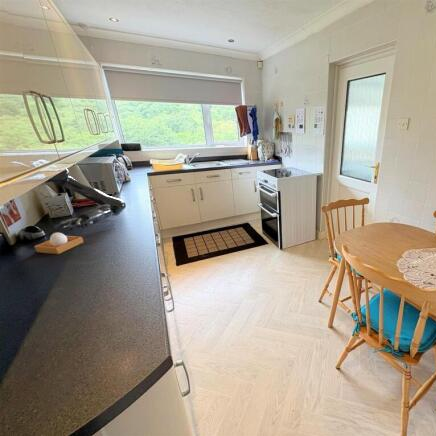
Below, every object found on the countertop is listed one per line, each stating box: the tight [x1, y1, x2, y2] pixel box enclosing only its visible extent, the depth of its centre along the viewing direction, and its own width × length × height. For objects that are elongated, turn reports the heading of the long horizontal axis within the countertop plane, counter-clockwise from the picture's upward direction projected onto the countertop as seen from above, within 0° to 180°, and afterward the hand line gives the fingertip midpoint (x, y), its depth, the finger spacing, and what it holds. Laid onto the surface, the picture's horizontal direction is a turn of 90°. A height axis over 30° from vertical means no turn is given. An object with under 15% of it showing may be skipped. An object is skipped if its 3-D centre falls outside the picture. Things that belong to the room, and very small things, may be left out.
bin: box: [34, 235, 84, 255], centre depth 114 cm, size 12×12×4 cm
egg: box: [49, 231, 68, 247], centre depth 113 cm, size 6×6×8 cm
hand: (61, 228), depth 114 cm, fingers open, 8 cm apart
